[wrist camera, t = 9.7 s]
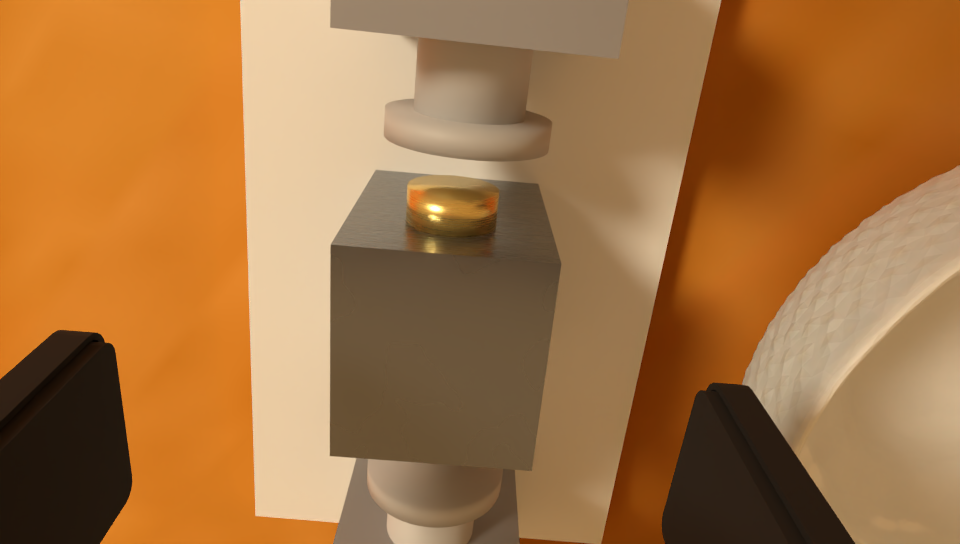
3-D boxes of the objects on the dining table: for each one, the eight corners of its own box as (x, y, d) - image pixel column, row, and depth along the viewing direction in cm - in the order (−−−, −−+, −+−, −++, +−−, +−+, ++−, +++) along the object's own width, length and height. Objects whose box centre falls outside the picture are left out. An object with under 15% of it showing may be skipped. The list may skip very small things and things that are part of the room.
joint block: (376, 140, 18) (330, 204, 13) (542, 155, 18) (566, 224, 13) (370, 354, 21) (329, 485, 15) (515, 365, 21) (527, 499, 15)
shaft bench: (264, 496, 24) (184, 679, 18) (249, -153, 17) (100, -245, 10) (596, 523, 25) (636, 712, 18) (729, -96, 17) (880, -151, 11)
